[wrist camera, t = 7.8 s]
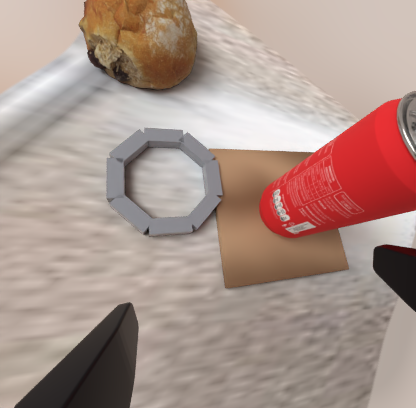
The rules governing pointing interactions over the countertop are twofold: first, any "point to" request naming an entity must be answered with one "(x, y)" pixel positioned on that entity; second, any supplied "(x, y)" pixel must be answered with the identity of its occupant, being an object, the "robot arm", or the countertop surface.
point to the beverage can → (349, 176)
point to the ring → (167, 140)
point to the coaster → (256, 230)
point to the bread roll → (141, 40)
